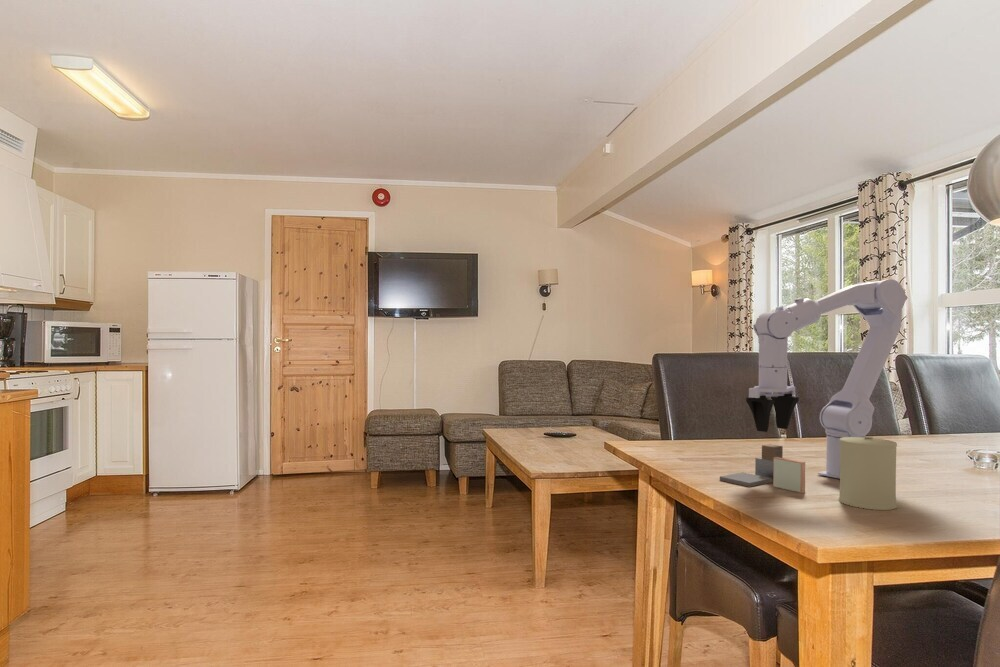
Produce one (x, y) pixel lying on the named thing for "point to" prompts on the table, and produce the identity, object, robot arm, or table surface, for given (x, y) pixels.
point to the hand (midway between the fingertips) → (772, 429)
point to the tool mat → (745, 479)
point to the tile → (789, 474)
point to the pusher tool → (767, 460)
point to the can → (868, 473)
